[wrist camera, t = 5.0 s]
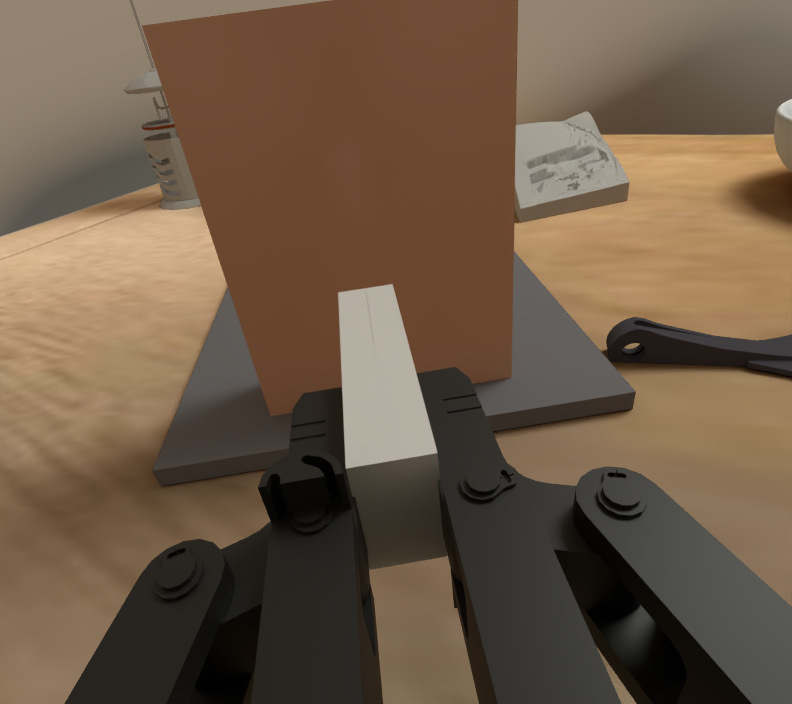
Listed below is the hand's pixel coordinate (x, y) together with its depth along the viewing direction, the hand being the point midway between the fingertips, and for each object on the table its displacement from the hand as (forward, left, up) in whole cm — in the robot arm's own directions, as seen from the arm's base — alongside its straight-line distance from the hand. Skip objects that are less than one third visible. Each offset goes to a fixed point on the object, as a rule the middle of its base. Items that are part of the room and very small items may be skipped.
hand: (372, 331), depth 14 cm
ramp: (-23, -42, -10) cm, 49 cm away
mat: (0, -18, -9) cm, 20 cm away
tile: (0, -9, -8) cm, 12 cm away
